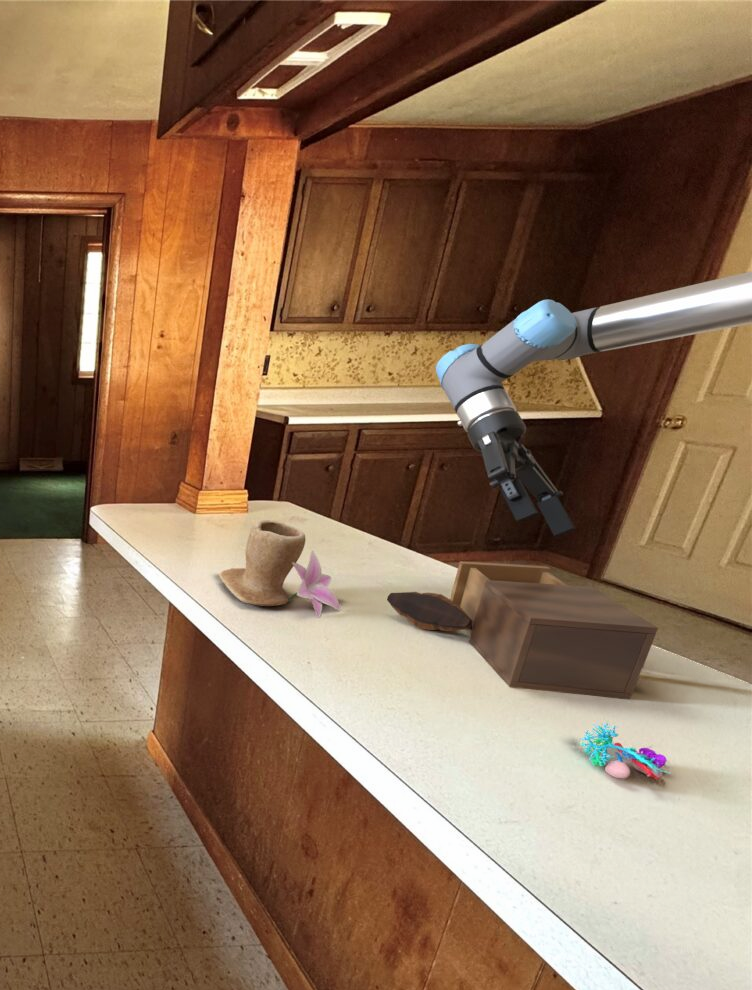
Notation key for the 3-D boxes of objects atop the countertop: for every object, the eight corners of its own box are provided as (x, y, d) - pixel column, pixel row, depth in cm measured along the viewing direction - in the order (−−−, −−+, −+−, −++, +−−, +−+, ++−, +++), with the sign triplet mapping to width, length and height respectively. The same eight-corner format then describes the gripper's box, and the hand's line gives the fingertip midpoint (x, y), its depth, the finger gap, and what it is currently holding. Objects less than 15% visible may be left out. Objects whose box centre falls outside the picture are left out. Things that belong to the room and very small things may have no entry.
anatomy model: (708, 764, 70) (666, 723, 76) (615, 754, 72) (581, 716, 78) (686, 799, 72) (647, 757, 78) (597, 789, 75) (565, 749, 80)
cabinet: (468, 641, 109) (485, 579, 105) (571, 650, 104) (593, 586, 100) (509, 686, 95) (530, 617, 91) (630, 699, 90) (658, 627, 87)
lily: (280, 624, 120) (316, 587, 114) (254, 580, 128) (286, 543, 122) (331, 635, 123) (369, 600, 117) (303, 592, 132) (336, 556, 125)
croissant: (396, 577, 117) (407, 586, 120) (375, 610, 118) (386, 619, 121) (481, 603, 106) (490, 613, 109) (457, 640, 107) (467, 649, 110)
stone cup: (304, 611, 122) (317, 533, 117) (237, 610, 124) (247, 533, 118) (277, 583, 136) (287, 512, 131) (217, 582, 138) (225, 512, 132)
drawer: (436, 596, 124) (448, 551, 121) (517, 602, 120) (531, 556, 117) (478, 641, 106) (493, 589, 103) (575, 649, 102) (593, 596, 99)
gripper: (501, 451, 126) (553, 548, 117) (431, 417, 114) (483, 522, 105) (547, 427, 120) (606, 527, 111) (479, 389, 108) (538, 497, 99)
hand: (546, 525), depth 108 cm, fingers open, 13 cm apart
